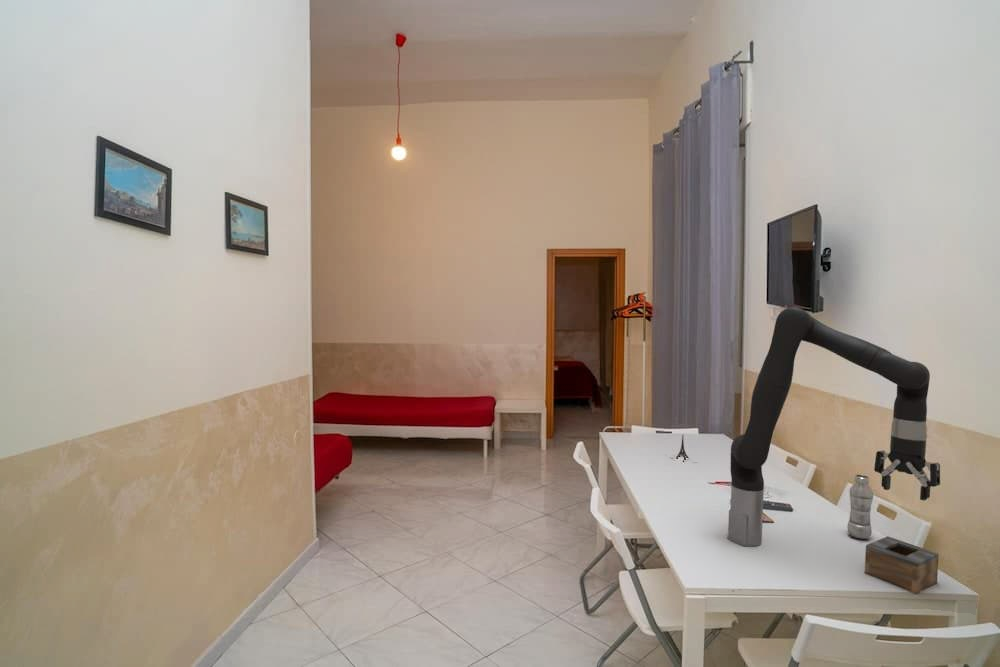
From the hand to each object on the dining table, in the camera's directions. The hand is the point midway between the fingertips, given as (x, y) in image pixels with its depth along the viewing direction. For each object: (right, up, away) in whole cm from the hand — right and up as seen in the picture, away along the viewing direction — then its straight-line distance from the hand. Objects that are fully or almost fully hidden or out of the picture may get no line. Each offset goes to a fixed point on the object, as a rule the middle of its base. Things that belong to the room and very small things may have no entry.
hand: (904, 494), depth 140 cm
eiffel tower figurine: (-21, -19, +114) cm, 117 cm away
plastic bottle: (+6, -22, +27) cm, 35 cm away
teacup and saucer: (-7, -21, +68) cm, 72 cm away
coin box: (0, -23, +1) cm, 23 cm away
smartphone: (-19, -22, +45) cm, 53 cm away
